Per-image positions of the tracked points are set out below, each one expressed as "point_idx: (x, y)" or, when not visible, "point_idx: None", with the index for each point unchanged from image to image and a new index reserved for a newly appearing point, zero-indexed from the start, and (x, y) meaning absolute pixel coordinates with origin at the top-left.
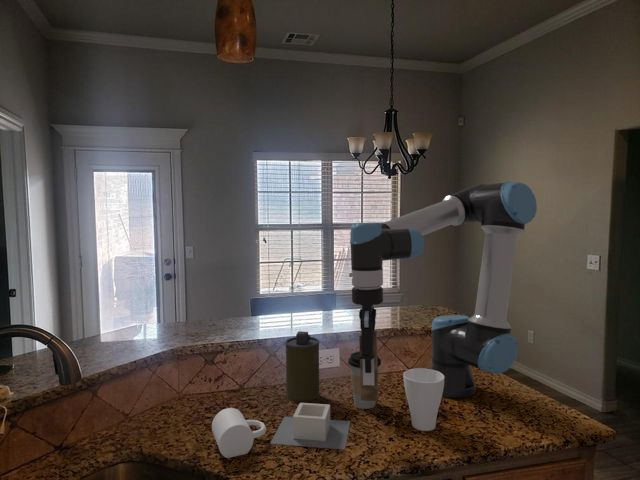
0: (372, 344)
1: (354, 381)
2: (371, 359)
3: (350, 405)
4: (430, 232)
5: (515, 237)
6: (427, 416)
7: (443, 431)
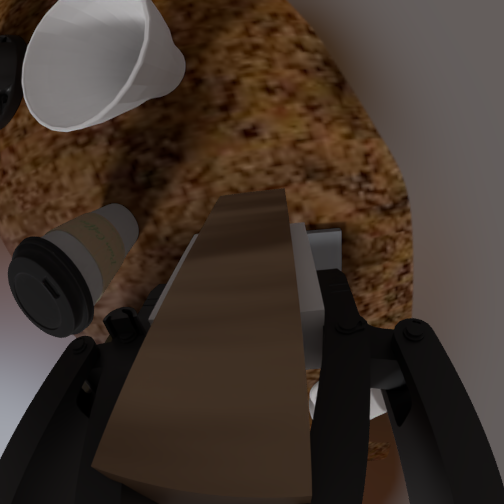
0: (431, 422)
1: (109, 283)
2: (323, 319)
3: (125, 258)
4: None
5: None
6: (175, 46)
7: (173, 24)
